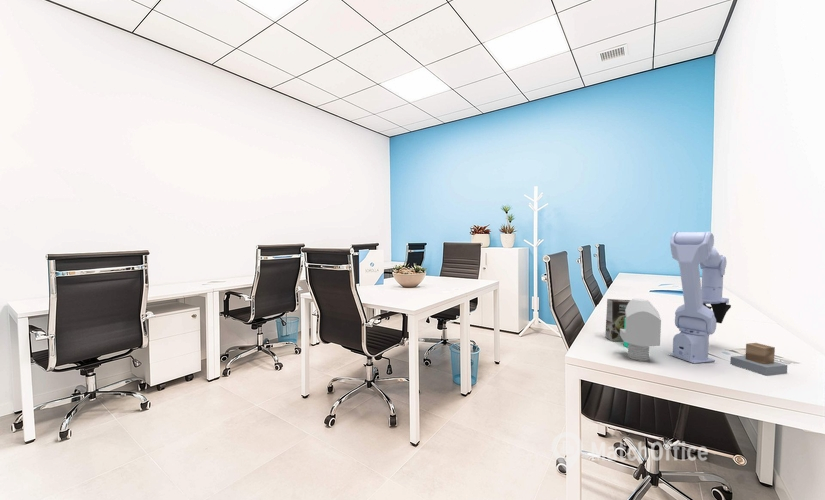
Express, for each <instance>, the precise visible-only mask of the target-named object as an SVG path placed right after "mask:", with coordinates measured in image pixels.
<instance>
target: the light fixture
mask: <svg viewBox="0 0 825 500" xmlns="http://www.w3.org/2000/svg"><path fill="white" fill-rule="evenodd" d="M630 300H631V301H630V302H629V303H628V305H627V307H626V309H625V315H626V329H620V336H621V338H622V340H623V341H624V342H627V343H629V344H628V347H627V358H630V359H631V360H635V361H638V362H640V361H641V362H647V361H649V358H650V347H659V346H661V332H662V331H661V330H662V318H661V315H660V313H659V311H658V310H657V309H656V307H655V306H654V305H653V304H652V303H651V301H649V300H648V299H643V298H631V299H630ZM624 342H623V343H624Z"/></svg>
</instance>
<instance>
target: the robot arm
mask: <svg viewBox="0 0 825 500" xmlns="http://www.w3.org/2000/svg"><path fill="white" fill-rule="evenodd" d="M714 237H715V236H714V234H713V233H712V231H699V232H698V231H686V232H685V231H684V232H681V231H680V232H678V231H674V232H673V233H672V234H671V236H670V242H669V245H670V246H669V247H670V253H671V257H672V259H673V260H676V261H677V262H678V267H679V272H680V279H681V287H682V295H683V304H682V305H679V306H678V307H677V308H676V310H675V312H674V315H675V316H674V325H675V327H676V328H677V329H678V332H679V333H676V334H675V335H674V336H673V339H672V353H669V355H670V356H672V357H675V358H677V359H681V360H683V361H687V362H689V363H692V364H701V363H711V362H715V361H716V359H713V358H710V357H709V346H710V345H709V339H710V335H711V336H712V335H713V334H715V332H716V331H717V330H716V329H717V324H723V322H724V318H725V316H726V314H727V312H728V311H729V310H730V309H731V308H732V305H731V304H730V303H729V302H730V298H729V297H723V285H724V276H725V273H726V269H727V257H726V256H724V255H722V254H720V253H719V252H718V250H717V249H716V248H715V247H714V245H715V238H714ZM700 270H701V273H700Z"/></svg>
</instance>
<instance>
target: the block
mask: <svg viewBox="0 0 825 500" xmlns="http://www.w3.org/2000/svg"><path fill="white" fill-rule="evenodd" d="M775 351H776V349H775V346H771V345H766V344H762V343H758V342H752V343H746V344H745V355H746V358H745V359H747V360H750V361H754V362H757V363H761V364H772V363H774V362H775Z"/></svg>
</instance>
